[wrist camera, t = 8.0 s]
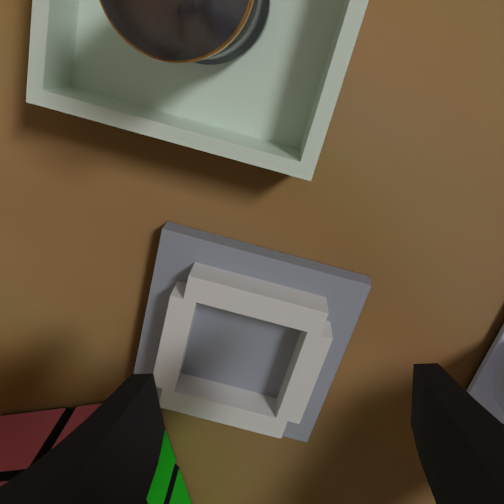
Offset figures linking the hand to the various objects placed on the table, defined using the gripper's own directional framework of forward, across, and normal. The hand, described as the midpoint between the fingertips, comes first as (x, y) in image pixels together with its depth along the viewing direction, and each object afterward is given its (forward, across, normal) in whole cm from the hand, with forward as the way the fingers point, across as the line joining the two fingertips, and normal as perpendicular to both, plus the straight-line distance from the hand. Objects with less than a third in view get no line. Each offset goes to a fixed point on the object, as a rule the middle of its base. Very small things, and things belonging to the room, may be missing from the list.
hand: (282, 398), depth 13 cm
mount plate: (+10, +2, +4) cm, 12 cm away
